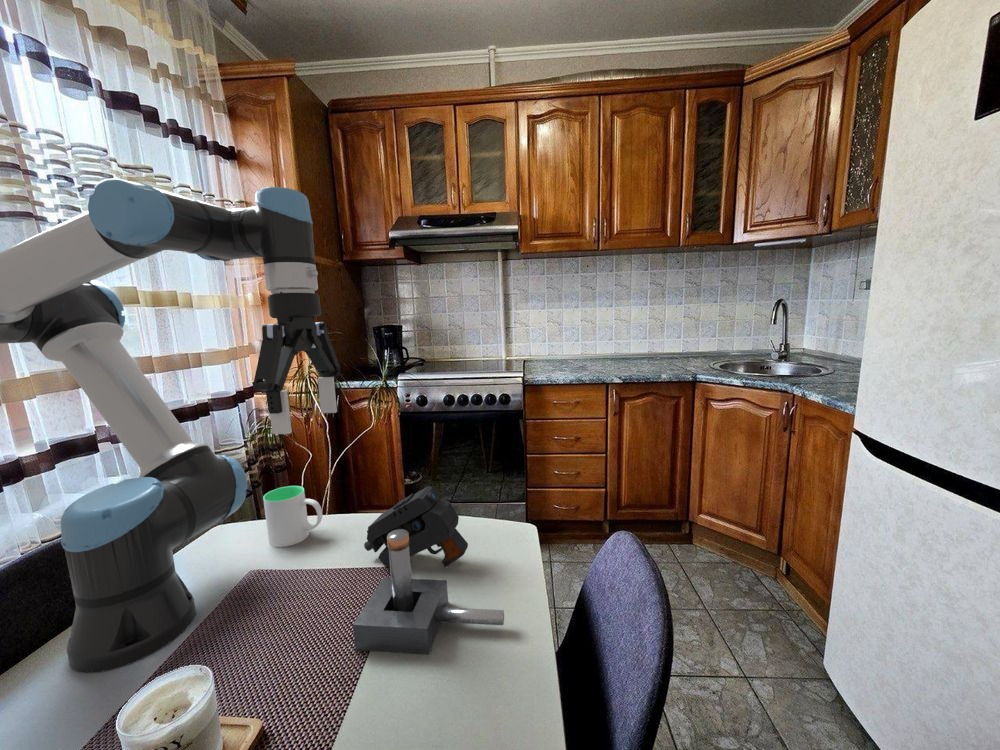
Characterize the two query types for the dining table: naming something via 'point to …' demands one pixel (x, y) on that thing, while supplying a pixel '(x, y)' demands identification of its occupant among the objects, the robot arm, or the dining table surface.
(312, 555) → the dining table surface
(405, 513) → the toy gun
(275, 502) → the mug
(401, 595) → the grey metal rod
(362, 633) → the grey holed block
